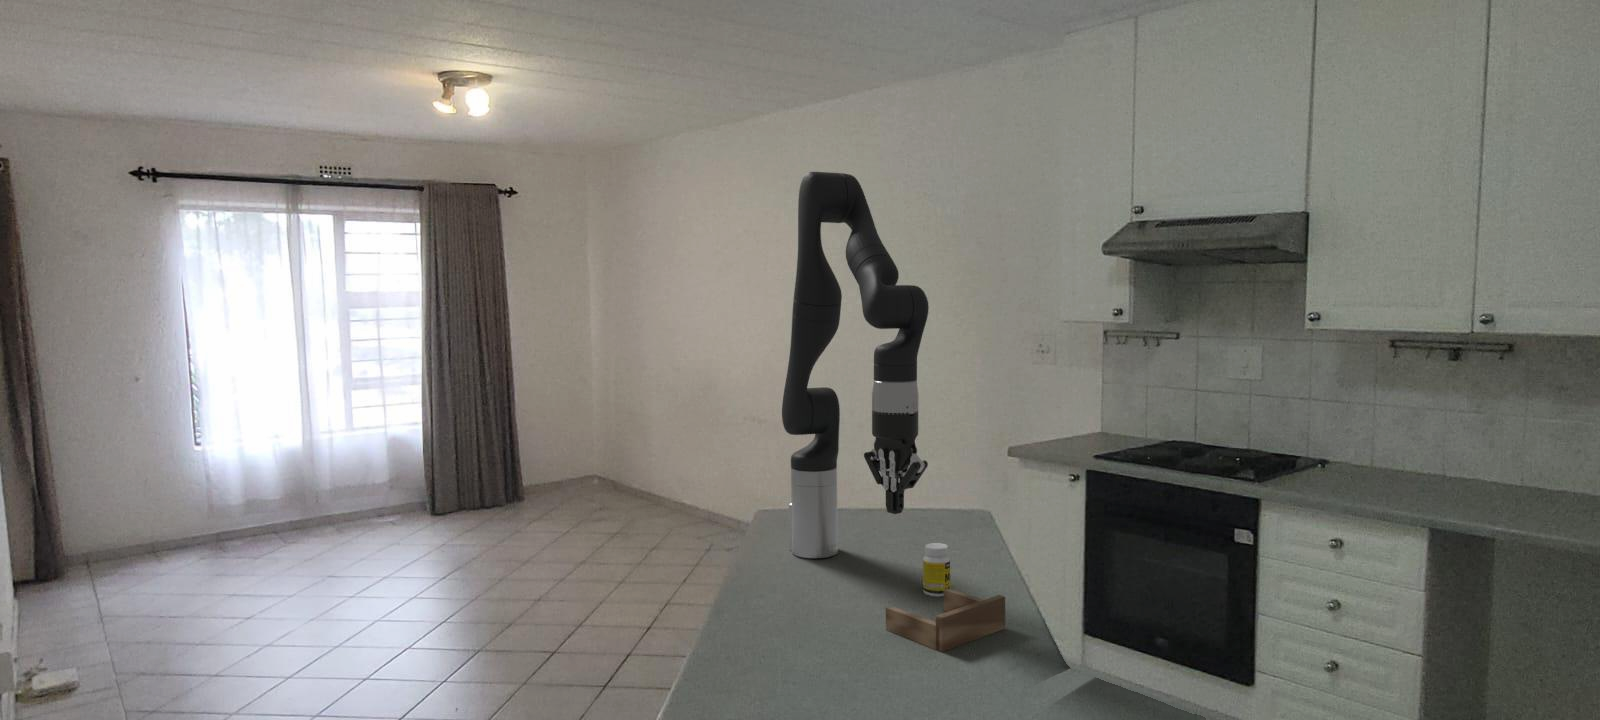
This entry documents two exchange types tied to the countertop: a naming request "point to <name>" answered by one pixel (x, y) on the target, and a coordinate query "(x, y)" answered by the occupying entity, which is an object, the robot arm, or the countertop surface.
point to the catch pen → (950, 621)
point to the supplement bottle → (936, 569)
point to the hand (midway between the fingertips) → (894, 512)
